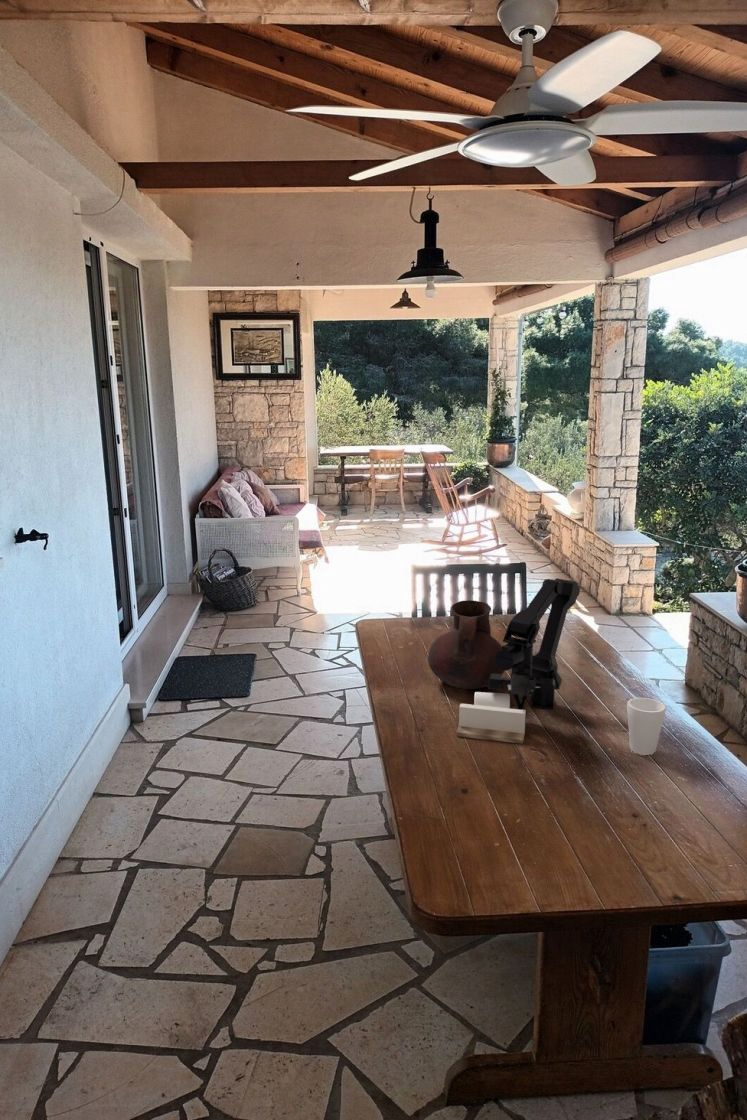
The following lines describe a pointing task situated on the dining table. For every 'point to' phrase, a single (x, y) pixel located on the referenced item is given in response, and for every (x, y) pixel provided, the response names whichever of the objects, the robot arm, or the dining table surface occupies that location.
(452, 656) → the jug
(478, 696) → the mug
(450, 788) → the dining table surface
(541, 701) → the robot arm
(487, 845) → the dining table surface
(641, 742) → the foam cup
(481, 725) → the screen
